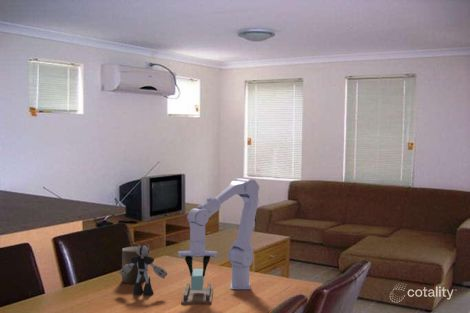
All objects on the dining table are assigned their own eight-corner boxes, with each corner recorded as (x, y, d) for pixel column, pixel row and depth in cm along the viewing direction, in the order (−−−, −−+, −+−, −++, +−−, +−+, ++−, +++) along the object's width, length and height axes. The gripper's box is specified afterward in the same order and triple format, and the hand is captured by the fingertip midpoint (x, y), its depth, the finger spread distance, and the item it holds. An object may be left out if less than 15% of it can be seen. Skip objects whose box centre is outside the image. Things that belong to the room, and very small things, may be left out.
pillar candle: (142, 284, 207) (142, 248, 206) (119, 284, 207) (119, 247, 207) (147, 277, 217) (147, 243, 216) (124, 277, 217) (125, 243, 216)
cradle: (185, 290, 199) (185, 283, 199) (212, 290, 199) (213, 283, 199) (181, 304, 183) (181, 296, 183) (211, 304, 183) (211, 296, 183)
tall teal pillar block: (193, 280, 197) (193, 268, 197) (203, 280, 197) (203, 268, 197) (191, 290, 185) (191, 276, 185) (201, 290, 185) (202, 276, 185)
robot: (117, 293, 195) (116, 242, 194) (122, 289, 199) (122, 240, 199) (164, 297, 191) (164, 245, 190) (169, 293, 195) (169, 242, 194)
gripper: (177, 242, 186) (177, 278, 187) (216, 242, 186) (216, 278, 187) (179, 238, 193) (179, 273, 194) (217, 238, 193) (217, 273, 194)
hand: (197, 275), depth 191 cm, fingers closed on tall teal pillar block, 4 cm apart
